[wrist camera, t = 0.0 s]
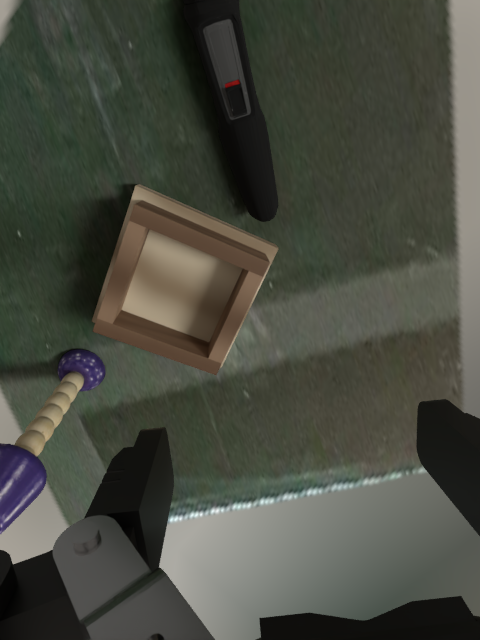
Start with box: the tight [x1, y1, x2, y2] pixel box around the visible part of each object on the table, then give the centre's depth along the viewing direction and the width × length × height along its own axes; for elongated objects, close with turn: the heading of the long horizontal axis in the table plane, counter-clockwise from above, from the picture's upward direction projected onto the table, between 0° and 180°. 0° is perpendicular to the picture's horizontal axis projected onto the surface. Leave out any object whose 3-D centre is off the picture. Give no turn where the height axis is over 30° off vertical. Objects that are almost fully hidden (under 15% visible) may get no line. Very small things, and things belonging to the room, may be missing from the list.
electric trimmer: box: [183, 0, 278, 222], centre depth 27 cm, size 4×16×3 cm, turn 16°
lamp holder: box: [92, 184, 279, 375], centre depth 31 cm, size 12×12×4 cm
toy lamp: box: [0, 349, 105, 534], centre depth 28 cm, size 5×5×17 cm
